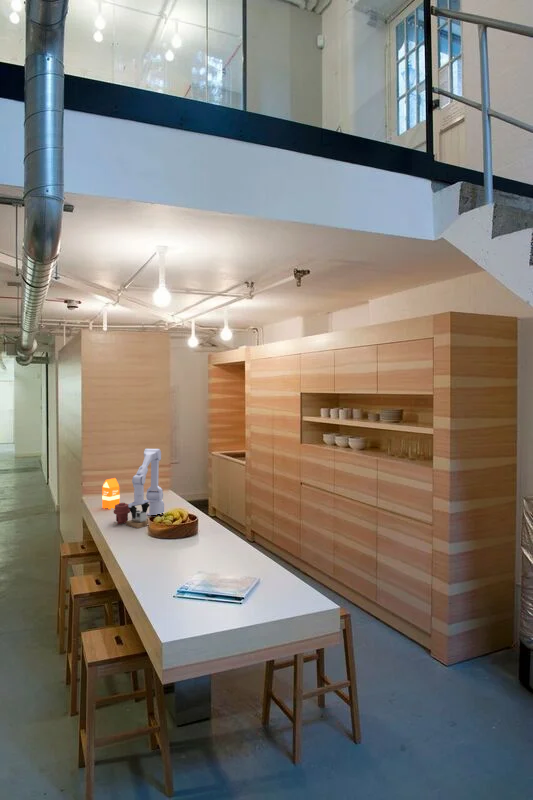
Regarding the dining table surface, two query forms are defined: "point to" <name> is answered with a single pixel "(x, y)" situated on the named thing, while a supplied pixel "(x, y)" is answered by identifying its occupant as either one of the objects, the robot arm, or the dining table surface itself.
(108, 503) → the orange juice
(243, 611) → the dining table surface
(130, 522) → the stand
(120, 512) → the mechanical component
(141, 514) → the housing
